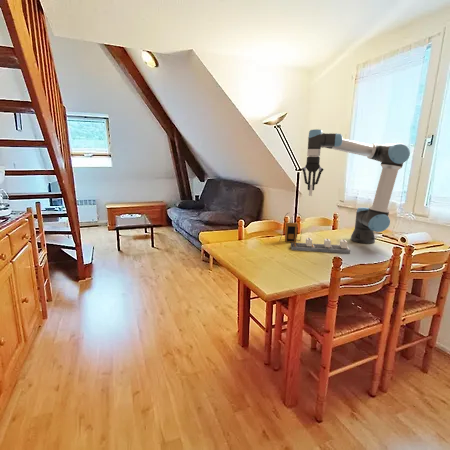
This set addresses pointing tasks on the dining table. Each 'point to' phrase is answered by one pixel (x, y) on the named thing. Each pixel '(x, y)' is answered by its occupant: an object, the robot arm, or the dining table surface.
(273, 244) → the dining table surface
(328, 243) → the block
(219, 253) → the dining table surface
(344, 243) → the breaker
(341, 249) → the panel
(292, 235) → the multimeter
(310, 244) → the breaker
